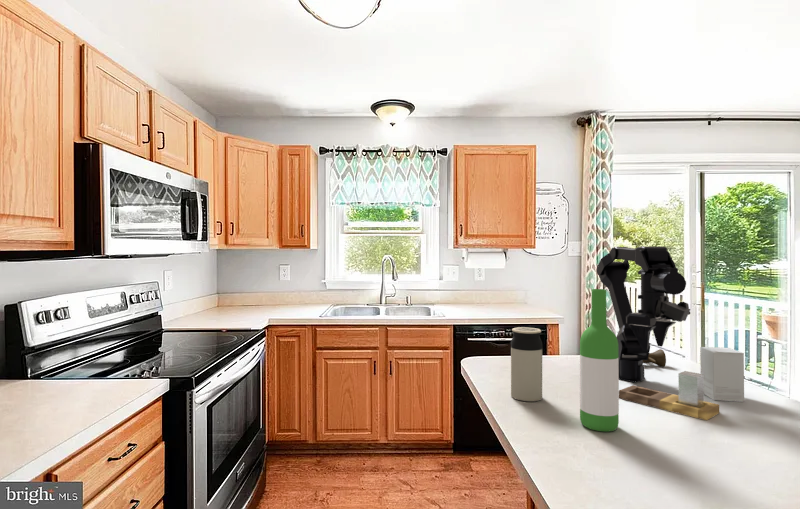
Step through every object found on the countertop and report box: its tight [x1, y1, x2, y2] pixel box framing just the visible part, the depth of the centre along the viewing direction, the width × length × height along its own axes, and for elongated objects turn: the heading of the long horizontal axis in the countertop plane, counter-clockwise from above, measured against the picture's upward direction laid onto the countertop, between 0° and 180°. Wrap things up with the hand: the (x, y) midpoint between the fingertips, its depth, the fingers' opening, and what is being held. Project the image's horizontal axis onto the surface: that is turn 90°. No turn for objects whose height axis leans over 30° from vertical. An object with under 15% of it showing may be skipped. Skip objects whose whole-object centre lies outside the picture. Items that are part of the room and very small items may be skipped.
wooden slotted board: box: [619, 385, 720, 421], centre depth 110 cm, size 20×8×2 cm, turn 37°
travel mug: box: [510, 326, 543, 403], centre depth 116 cm, size 8×8×18 cm
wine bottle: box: [579, 288, 620, 433], centre depth 97 cm, size 8×8×30 cm
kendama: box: [643, 348, 667, 368], centre depth 155 cm, size 6×10×20 cm
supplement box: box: [699, 346, 745, 403], centre depth 117 cm, size 7×7×13 cm
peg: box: [678, 370, 705, 408], centre depth 106 cm, size 4×4×9 cm
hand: (652, 348), depth 121 cm, fingers open, 9 cm apart
